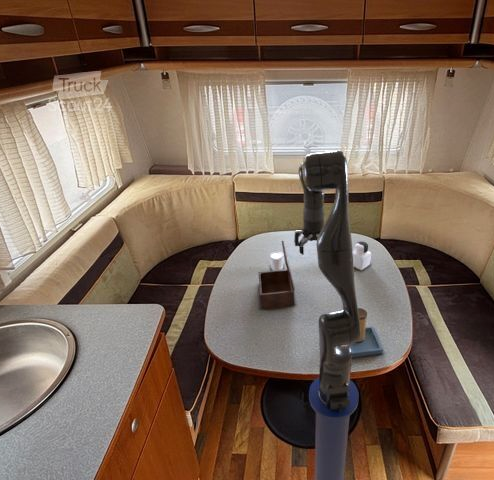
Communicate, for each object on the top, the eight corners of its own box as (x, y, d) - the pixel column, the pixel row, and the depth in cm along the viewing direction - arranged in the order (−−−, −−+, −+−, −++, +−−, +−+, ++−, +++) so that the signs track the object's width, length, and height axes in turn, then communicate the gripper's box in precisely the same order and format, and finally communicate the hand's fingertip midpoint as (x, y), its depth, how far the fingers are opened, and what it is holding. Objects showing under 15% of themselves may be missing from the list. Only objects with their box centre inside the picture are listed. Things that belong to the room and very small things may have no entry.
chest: (261, 308, 147) (259, 295, 143) (259, 285, 160) (258, 271, 157) (294, 305, 149) (293, 291, 145) (290, 282, 162) (289, 268, 158)
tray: (382, 353, 127) (382, 349, 126) (339, 359, 125) (339, 355, 124) (372, 329, 137) (372, 325, 136) (332, 334, 135) (332, 330, 134)
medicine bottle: (358, 258, 177) (360, 238, 171) (370, 264, 173) (372, 243, 167) (349, 264, 173) (351, 243, 167) (361, 270, 169) (363, 249, 162)
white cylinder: (281, 262, 176) (280, 250, 172) (286, 269, 170) (286, 257, 167) (267, 265, 173) (267, 253, 169) (273, 273, 168) (272, 261, 164)
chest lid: (285, 262, 137) (287, 262, 137) (281, 241, 150) (283, 240, 150) (292, 291, 145) (294, 290, 145) (288, 268, 158) (290, 267, 158)
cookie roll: (359, 345, 129) (362, 320, 123) (347, 338, 132) (349, 313, 126) (367, 337, 133) (370, 312, 126) (355, 330, 136) (358, 306, 129)
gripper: (330, 209, 132) (329, 245, 141) (292, 212, 131) (293, 248, 140) (335, 219, 126) (333, 256, 135) (295, 222, 124) (296, 260, 133)
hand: (313, 252), depth 137 cm, fingers open, 8 cm apart
